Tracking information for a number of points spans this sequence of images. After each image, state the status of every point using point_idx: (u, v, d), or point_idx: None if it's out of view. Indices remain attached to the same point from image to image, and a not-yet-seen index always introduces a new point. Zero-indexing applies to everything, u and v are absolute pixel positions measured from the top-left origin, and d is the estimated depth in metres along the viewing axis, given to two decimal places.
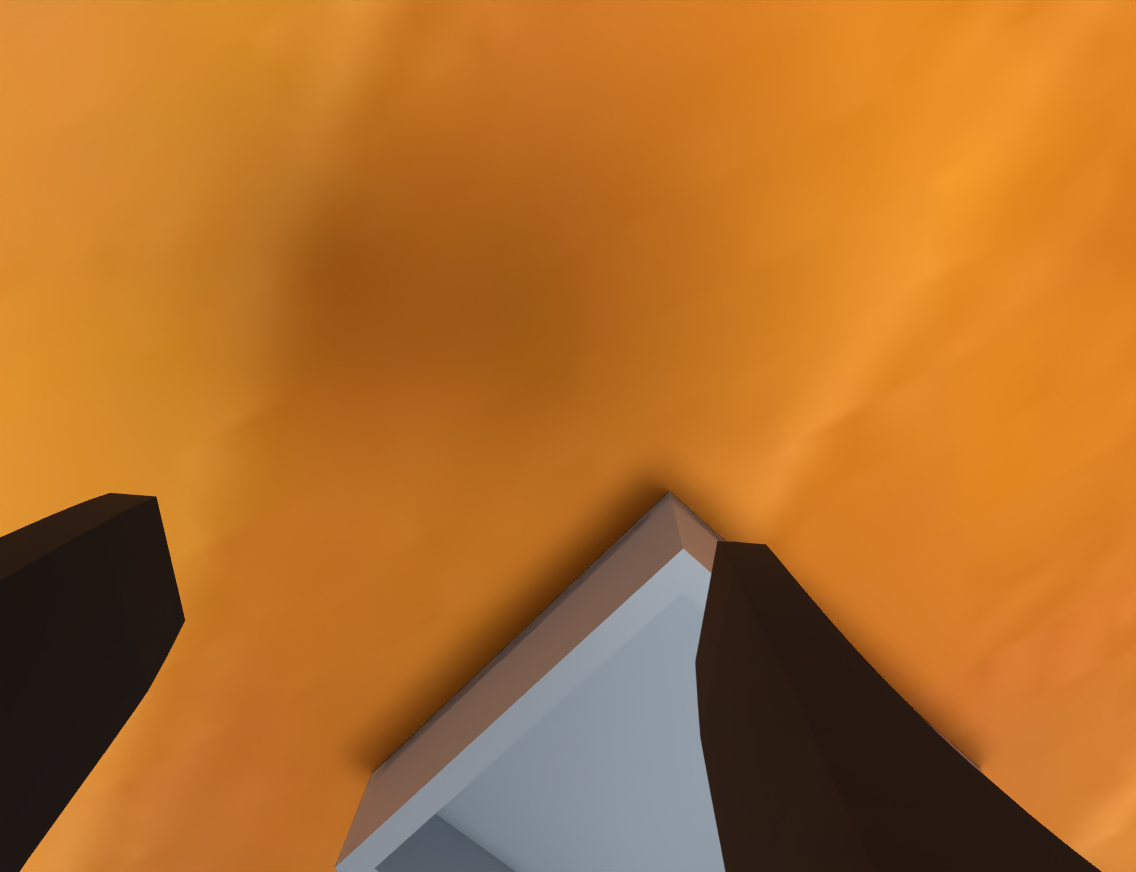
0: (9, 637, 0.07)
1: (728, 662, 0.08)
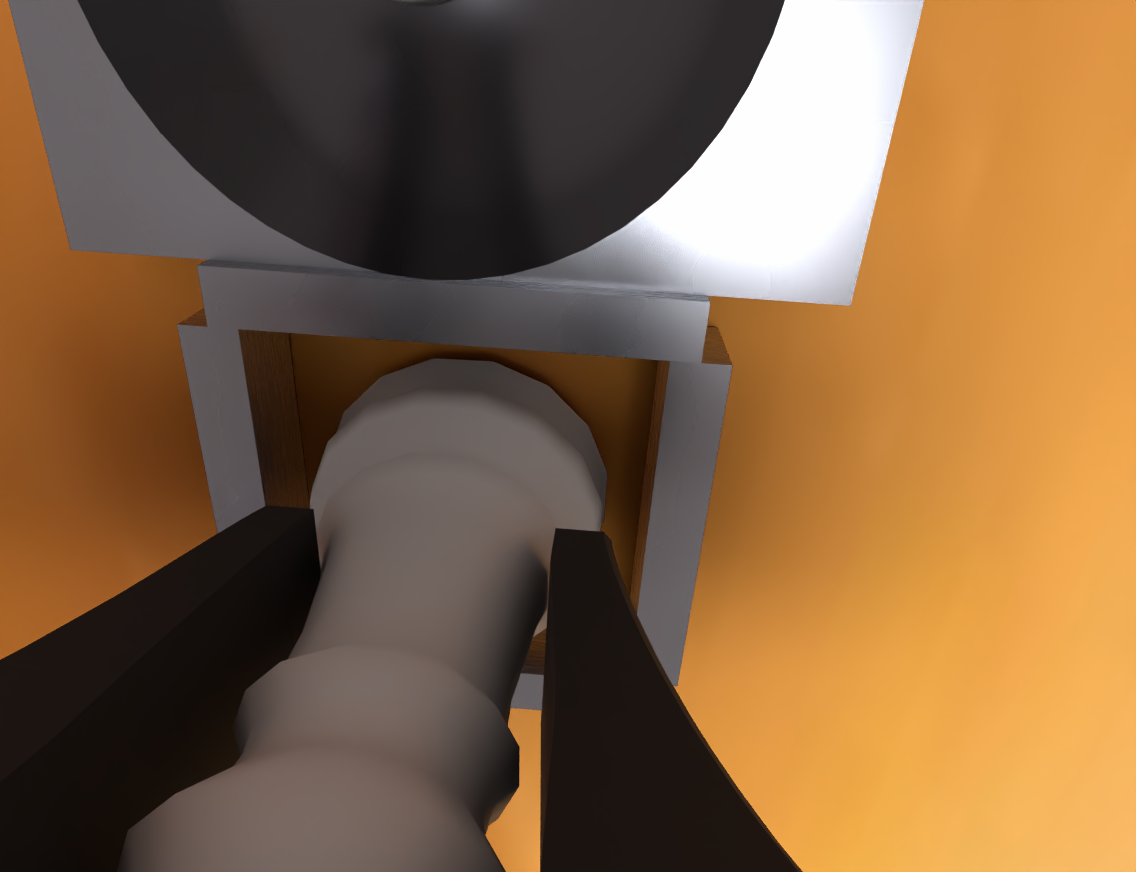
0: (211, 654, 0.07)
1: (547, 647, 0.08)
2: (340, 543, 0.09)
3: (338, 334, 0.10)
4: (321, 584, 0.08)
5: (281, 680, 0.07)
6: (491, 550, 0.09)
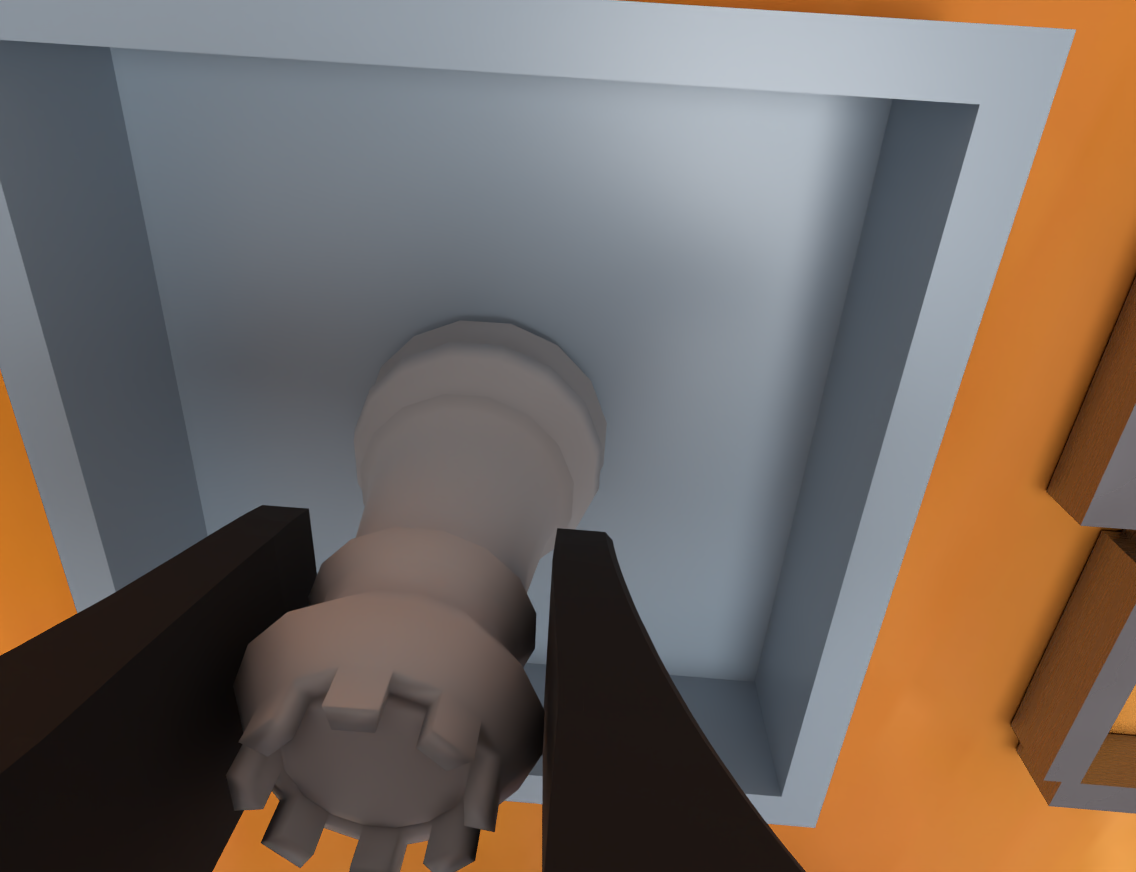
0: (206, 653, 0.07)
1: (549, 647, 0.08)
2: (385, 465, 0.11)
3: None
4: (372, 495, 0.10)
5: (352, 552, 0.08)
6: (512, 470, 0.10)
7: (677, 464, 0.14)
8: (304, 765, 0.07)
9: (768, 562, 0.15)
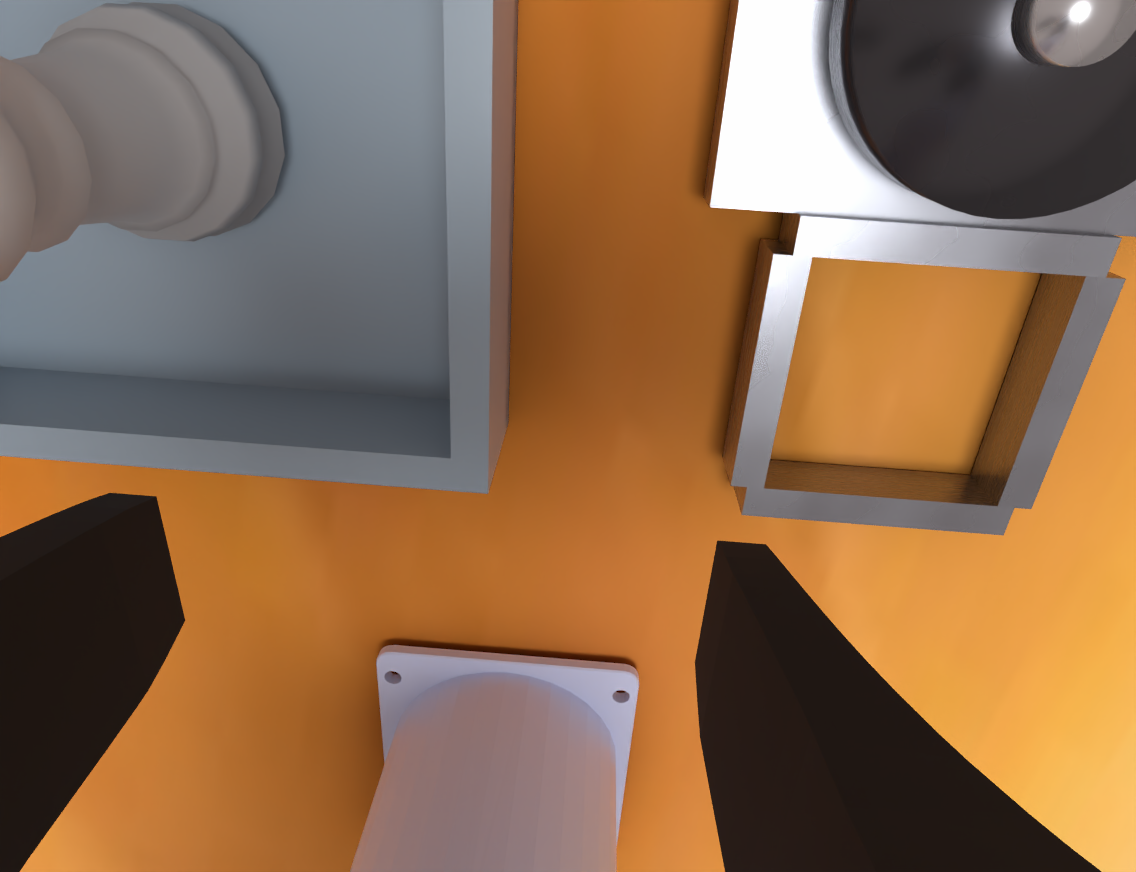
0: (9, 637, 0.07)
1: (728, 662, 0.08)
2: None
3: (876, 260, 0.15)
4: None
5: None
6: (119, 75, 0.12)
7: (360, 163, 0.16)
8: None
9: None
